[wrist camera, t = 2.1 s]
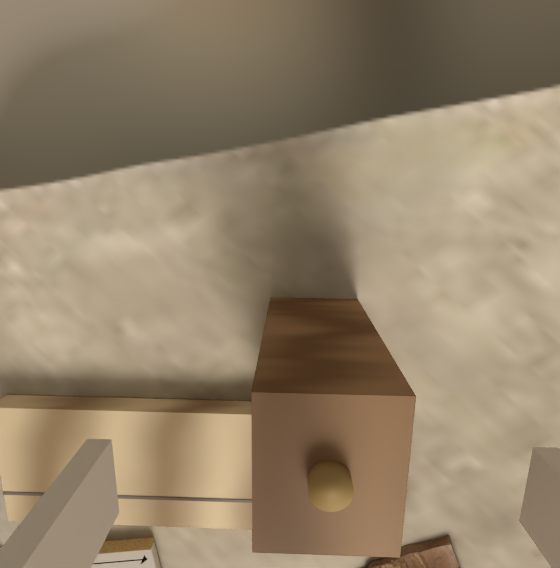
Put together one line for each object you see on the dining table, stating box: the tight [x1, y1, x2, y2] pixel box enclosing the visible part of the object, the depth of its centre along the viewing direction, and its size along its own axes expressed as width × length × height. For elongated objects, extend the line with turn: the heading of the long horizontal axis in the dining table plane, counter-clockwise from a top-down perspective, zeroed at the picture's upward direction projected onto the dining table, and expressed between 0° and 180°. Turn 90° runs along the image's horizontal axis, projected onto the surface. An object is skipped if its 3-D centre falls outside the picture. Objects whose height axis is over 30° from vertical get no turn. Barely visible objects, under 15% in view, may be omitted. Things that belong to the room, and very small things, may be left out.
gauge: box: [251, 298, 416, 558], centre depth 19 cm, size 5×14×12 cm, turn 179°
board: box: [0, 395, 252, 529], centre depth 25 cm, size 22×8×2 cm, turn 89°
